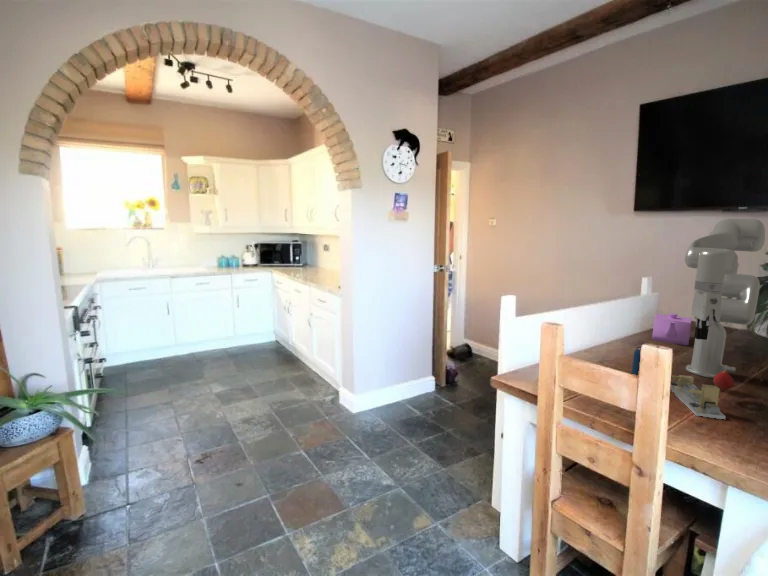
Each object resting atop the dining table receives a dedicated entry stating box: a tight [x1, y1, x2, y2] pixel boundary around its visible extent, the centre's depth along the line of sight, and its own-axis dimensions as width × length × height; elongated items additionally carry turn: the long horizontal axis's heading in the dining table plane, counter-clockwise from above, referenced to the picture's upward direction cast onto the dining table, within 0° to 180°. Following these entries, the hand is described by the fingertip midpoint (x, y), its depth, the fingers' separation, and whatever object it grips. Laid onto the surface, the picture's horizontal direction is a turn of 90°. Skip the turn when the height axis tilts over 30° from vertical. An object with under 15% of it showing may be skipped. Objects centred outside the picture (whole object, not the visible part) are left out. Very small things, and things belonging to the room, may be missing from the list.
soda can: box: [631, 346, 642, 375], centre depth 159 cm, size 7×7×12 cm
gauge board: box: [670, 374, 726, 421], centre depth 141 cm, size 8×26×5 cm, turn 163°
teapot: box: [651, 312, 692, 347], centre depth 209 cm, size 15×25×14 cm, turn 144°
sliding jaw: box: [689, 384, 721, 407], centre depth 134 cm, size 8×2×7 cm, turn 73°
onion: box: [712, 370, 735, 392], centre depth 149 cm, size 6×6×8 cm
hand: (700, 338), depth 141 cm, fingers closed
